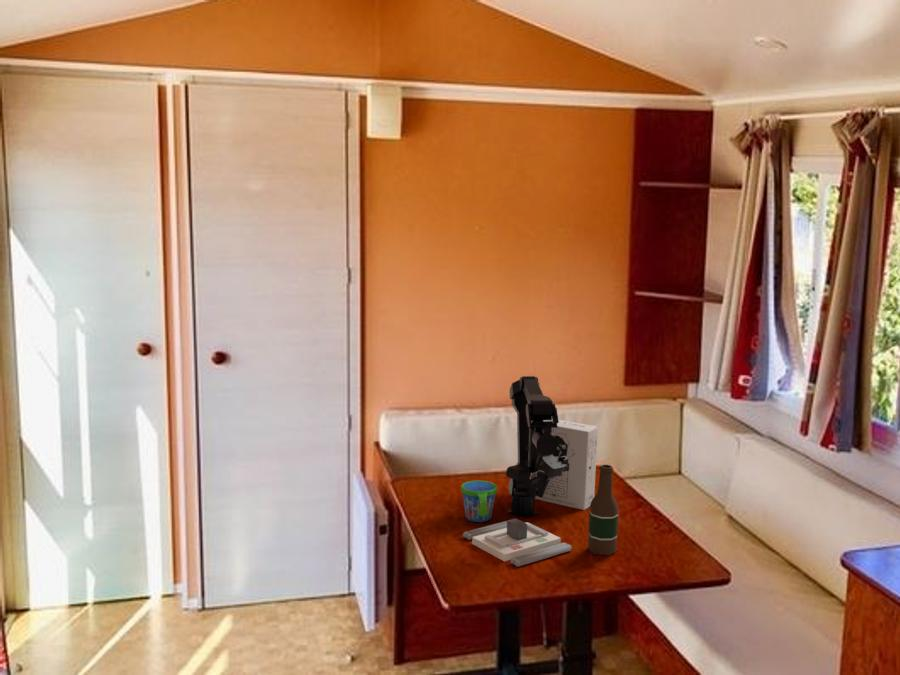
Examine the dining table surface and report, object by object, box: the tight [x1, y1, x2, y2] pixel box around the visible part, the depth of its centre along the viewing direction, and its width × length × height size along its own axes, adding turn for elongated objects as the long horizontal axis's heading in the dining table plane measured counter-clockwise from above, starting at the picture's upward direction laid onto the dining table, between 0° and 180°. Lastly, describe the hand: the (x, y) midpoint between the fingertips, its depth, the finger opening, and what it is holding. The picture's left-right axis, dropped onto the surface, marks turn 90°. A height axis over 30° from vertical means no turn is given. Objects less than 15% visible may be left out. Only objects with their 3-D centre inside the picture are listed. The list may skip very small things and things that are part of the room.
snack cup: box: [460, 480, 498, 523], centre depth 266 cm, size 16×10×10 cm
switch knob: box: [506, 518, 527, 540], centre depth 247 cm, size 3×5×4 cm, turn 36°
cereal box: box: [535, 419, 599, 511], centre depth 282 cm, size 22×8×25 cm, turn 58°
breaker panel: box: [471, 522, 562, 563], centre depth 248 cm, size 20×14×3 cm
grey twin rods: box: [462, 520, 573, 568], centre depth 248 cm, size 20×24×2 cm
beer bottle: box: [587, 464, 619, 556], centre depth 243 cm, size 8×8×24 cm
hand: (537, 498), depth 250 cm, fingers closed
